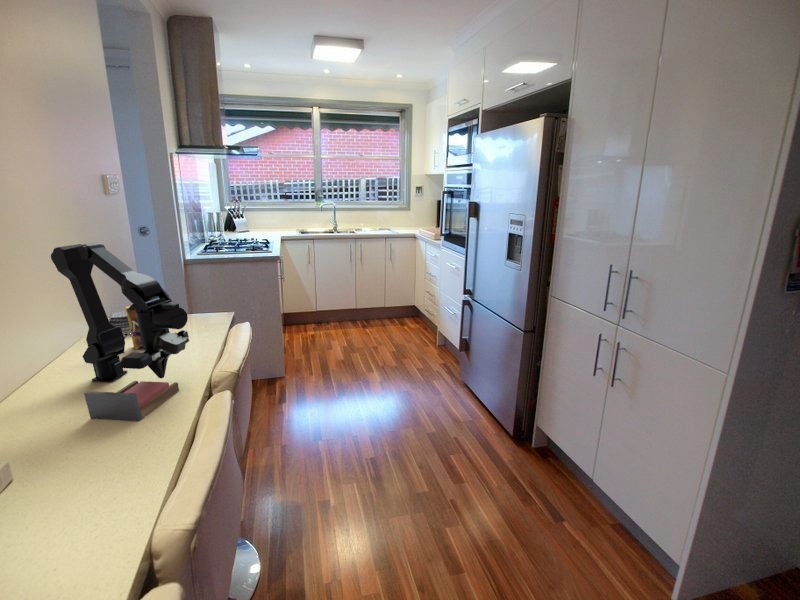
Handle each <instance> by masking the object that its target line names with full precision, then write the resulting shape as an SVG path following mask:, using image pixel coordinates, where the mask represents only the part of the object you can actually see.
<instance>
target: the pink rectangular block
mask: <svg viewBox="0 0 800 600" xmlns="http://www.w3.org/2000/svg"><path fill="white" fill-rule="evenodd" d="M169 383H170V382H167V381H165V382H164V381H143V380H142V381H138V384H136V385H135V386H133V387H132V388H130V389H129V390H127V391H125V392H124V393H136V395H137V399H138V403H139V408H140V407H141V406H142V405H144V404H145V403H147V402H148V401H149V400H151V399H152V398H153V397H155V396H156V395H158V394H159V393H160V392H162V391H163V390H165V389H166V388H167V387H169V386H170V385H169Z"/></svg>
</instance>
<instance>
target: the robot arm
mask: <svg viewBox="0 0 800 600" xmlns="http://www.w3.org/2000/svg"><path fill="white" fill-rule="evenodd" d="M50 258H51V261H52V263H53V264H54V266H55V268H56V269H57V271H58V272H59V273H60V274H62V275H63V276H64V277H65V278H67V279H68V281H69V282H70V285H71V287H72V290H73V292H74V294H75V297H76V300H77V302H78V304H79V307H80V309H81V312H82V314H83V317H84V319H85V321H86V324H87V326H88V331H87V335H86V339H85V340H86V343H87V344H86V345H87V348H86V350H85V351H84V353H83V355H82V358H83V360H84V362H85V364H91V365H92V366H93V371H94V375H95V377H94V378H93V377H92V379H91V382H99V383H100V382H101V383H103V382H104V383H105V382H106V383H111V382H114V381H115V380H117V379H119V378H120V377H122V376H124V375H125V374H127V373H128V370H124V369H131V370H132V369H133V370H142V369H145V368H146V367H148V368H149V369H150V370H151V371H152V373H154V374H155V375H156V376H157V378H158V379H163V378H165V375H166V371H167V370H166V369H167V364H168V362H169V358H170V356H171V355H178V354H179V353H180V352H181V351H184V350H185V349H186V346H187V345H186V344H187V343H189V342H190V338H189V336H190V335H189V332H188V330H186V329H183V328H184V327H185V326H186V324H187V322H188V317H189V316H188V312H187V311H186V310H185V309H184V308H183V307H180V304H179V303H178V302H173V300H172V298H171V297H170V295H169V294H168V293H167V292H166V291H165V289H164V288H163V287H162V286H161V284H160V282H158V281H157V280H156V279H155V278H153V277H151V276H149V274H145V273H140V272H137V271H135V270H133V269H132V268H131V267H130V266H129V265H127V264H125V262H123V261H122V260H121V259H119V258H118V257H117V256H116V255H114V254H113V253H112V252H110V251H109V250H108V249H107V248H106V246H105V244H103V243H100V242H91V243H84V244H82V243H78V244H71V245H64V246H57V247H54V249H53V251H52V252H51V254H50ZM94 266H95V267H96V268H97V269H99V270H100V271H101V272H103V273H104V274H105V275H107V277H109V278H110V279H112V280H113V281H114V282H115V283H117V284H118V285H119V286H120V288H121V294H122V295H123V296H124V297H125V298H126V299H128V301H130V303H132V304H130V305H131V306H130V307H129V310H134V311H135V312H136V317H137V321H138V326H139V331H137V332H136V335H138V336H141V340H142V345H140V346H139V350H140V351H142V350H143V352H137V351H136V352H135V351H133V352H131V353H129V354H127V355H125V356H123V357H121V359H120V355H122V354H125V346H126V337H125V335H124V336H123V334H122V330H121V328H120V327H119V326H118V327H115V326H114V325H112V324H111V323H110V322H109V317H108V315H107V313H106V311H105V310H106V309H105V307H104V305H103V302H102V300H101V298H100V297H101V296H100V294H99V291H98V289H97V287H96V284H95V282H94V280H93V277H92V271H93V267H94ZM172 302H173V303H172ZM170 329H171V330H179V331H178V332H170Z"/></svg>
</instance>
